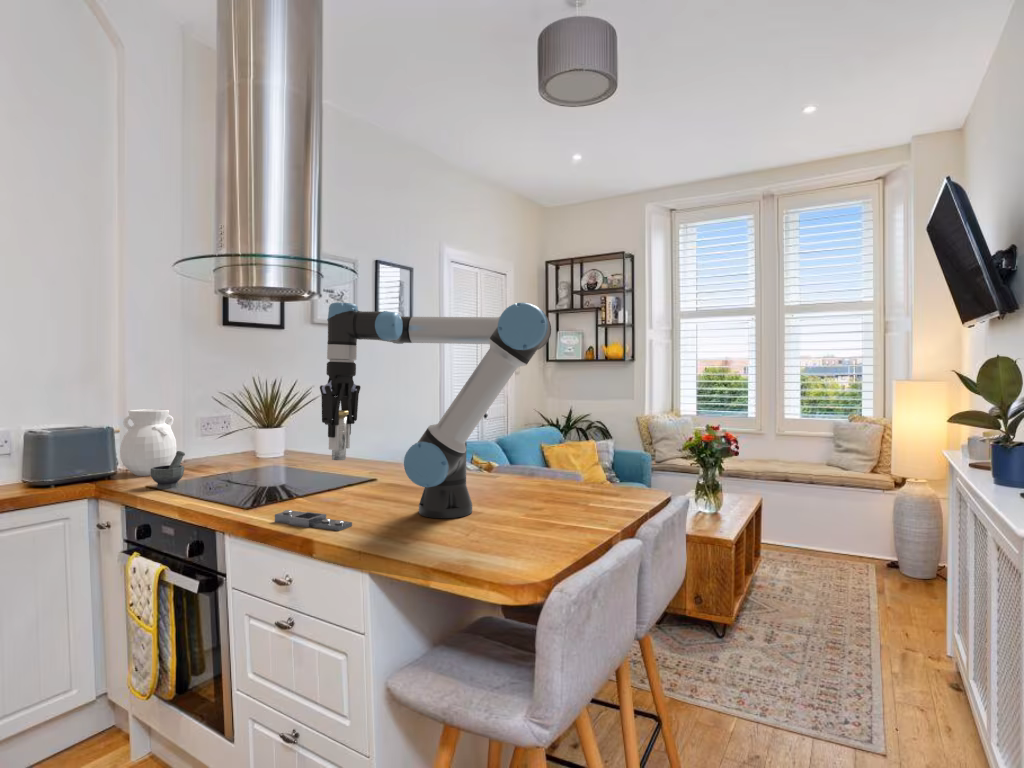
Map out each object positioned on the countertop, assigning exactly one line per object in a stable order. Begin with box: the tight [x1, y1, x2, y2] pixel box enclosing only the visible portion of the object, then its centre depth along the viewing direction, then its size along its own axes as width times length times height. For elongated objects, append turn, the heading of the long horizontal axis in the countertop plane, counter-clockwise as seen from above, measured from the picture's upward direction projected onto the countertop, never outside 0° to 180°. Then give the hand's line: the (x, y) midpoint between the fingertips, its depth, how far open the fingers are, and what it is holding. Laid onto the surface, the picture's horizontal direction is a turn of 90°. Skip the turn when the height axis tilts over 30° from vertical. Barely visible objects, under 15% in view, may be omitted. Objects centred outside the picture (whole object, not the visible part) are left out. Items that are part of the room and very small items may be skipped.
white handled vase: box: [119, 408, 177, 477], centre depth 219 cm, size 19×18×25 cm
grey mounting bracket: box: [274, 509, 353, 532], centre depth 147 cm, size 21×6×3 cm, turn 67°
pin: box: [331, 409, 349, 461], centre depth 151 cm, size 4×4×13 cm
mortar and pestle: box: [150, 450, 186, 490], centre depth 195 cm, size 11×9×12 cm
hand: (339, 448), depth 151 cm, fingers closed on pin, 3 cm apart
